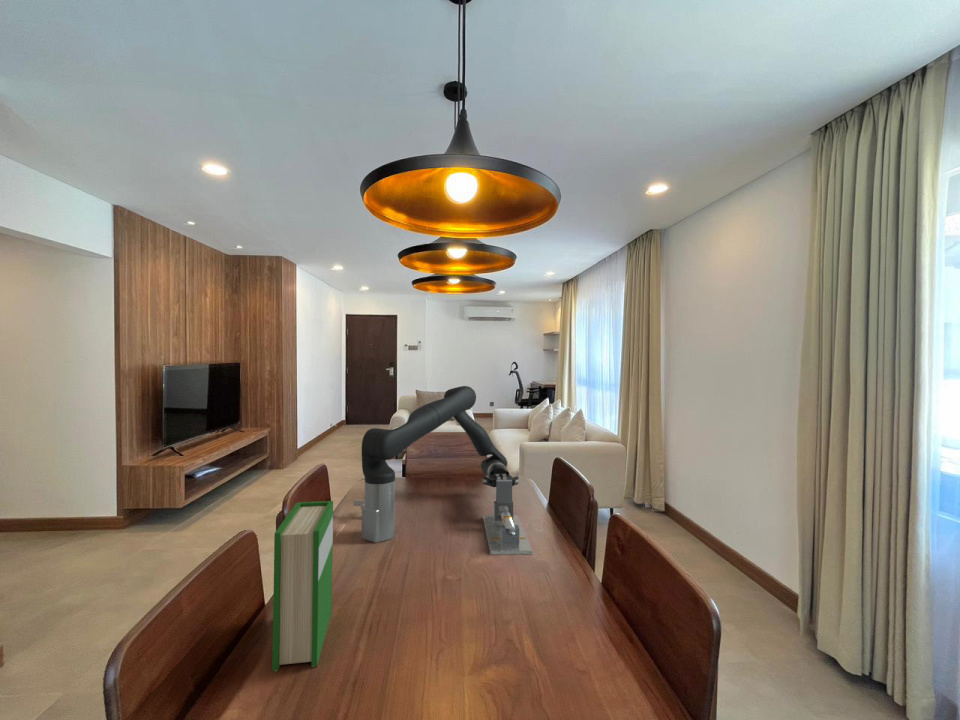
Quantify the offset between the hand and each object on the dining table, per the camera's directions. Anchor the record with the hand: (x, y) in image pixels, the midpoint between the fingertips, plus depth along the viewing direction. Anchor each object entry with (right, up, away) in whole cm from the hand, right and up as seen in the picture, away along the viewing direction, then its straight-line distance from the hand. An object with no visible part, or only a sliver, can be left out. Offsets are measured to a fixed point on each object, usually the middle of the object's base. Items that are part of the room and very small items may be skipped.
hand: (503, 487), depth 148 cm
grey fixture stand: (0, -13, -5) cm, 15 cm away
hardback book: (-42, -13, -61) cm, 75 cm away
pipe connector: (-47, -13, +8) cm, 49 cm away
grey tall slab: (0, -10, -1) cm, 10 cm away
